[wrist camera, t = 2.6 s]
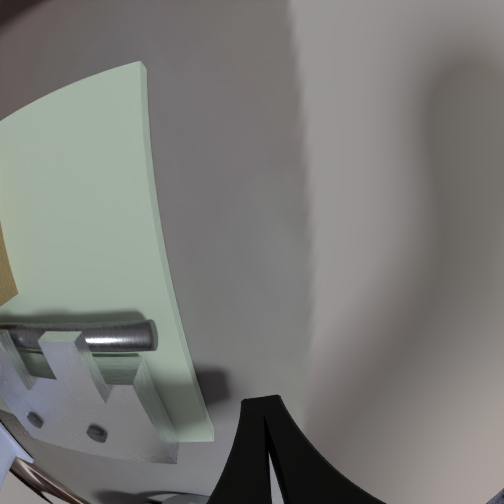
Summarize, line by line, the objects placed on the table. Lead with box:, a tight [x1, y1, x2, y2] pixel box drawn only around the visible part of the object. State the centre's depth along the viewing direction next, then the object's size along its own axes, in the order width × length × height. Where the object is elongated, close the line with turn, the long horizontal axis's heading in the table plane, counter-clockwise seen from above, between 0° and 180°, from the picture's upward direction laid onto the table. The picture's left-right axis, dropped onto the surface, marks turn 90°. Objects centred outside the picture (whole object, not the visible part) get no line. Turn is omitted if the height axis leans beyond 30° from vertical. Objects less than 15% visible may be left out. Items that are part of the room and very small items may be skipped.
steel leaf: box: [0, 330, 180, 464], centre depth 8 cm, size 9×7×2 cm
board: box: [0, 61, 214, 442], centre depth 9 cm, size 17×16×1 cm
